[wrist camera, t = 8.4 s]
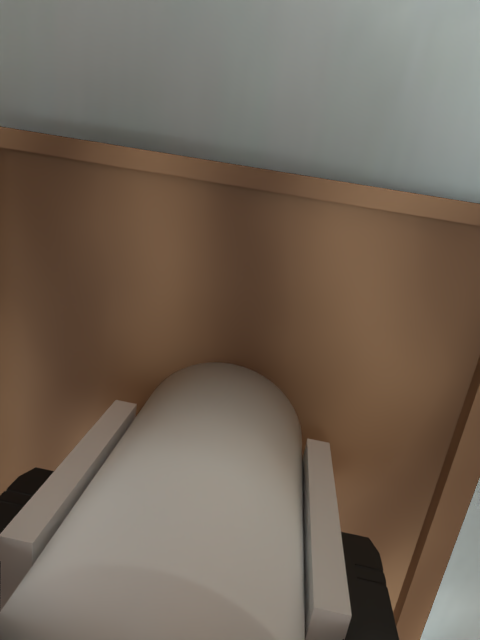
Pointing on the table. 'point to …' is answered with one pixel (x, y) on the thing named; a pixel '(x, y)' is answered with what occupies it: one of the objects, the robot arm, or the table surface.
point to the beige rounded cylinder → (181, 524)
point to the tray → (250, 323)
